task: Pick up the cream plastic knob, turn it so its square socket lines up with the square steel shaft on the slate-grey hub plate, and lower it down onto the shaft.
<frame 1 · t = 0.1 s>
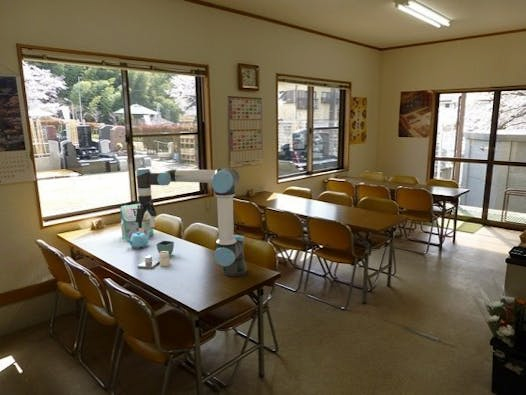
hand: (147, 229, 229), 28 cm above the table, fingers open, 13 cm apart
teapot: (139, 246, 285), on the table
lunch bag: (137, 237, 309), on the table
flower pot: (166, 255, 267), on the table
hub: (148, 265, 248), on the table
knob: (164, 264, 250), on the table, touching hub
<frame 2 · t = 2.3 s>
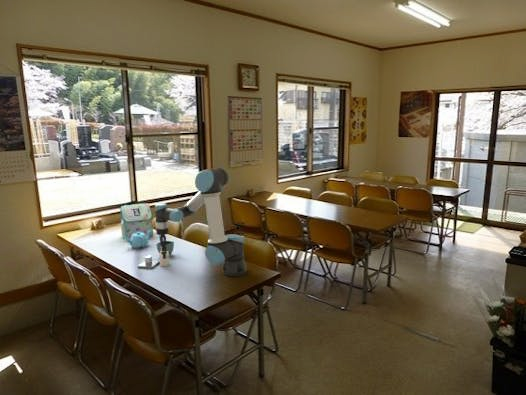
hand: (164, 259, 249), 3 cm above the table, fingers open, 13 cm apart
nothing on the table moved.
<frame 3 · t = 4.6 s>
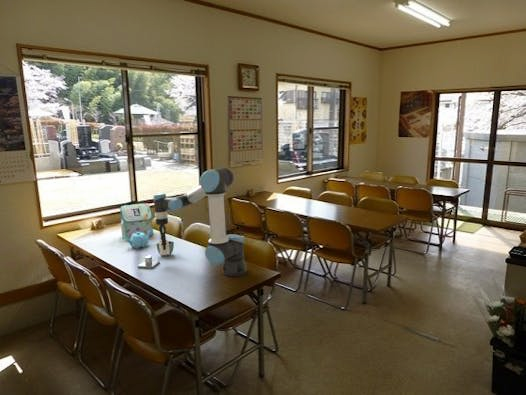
hand: (164, 252, 248), 8 cm above the table, fingers closed on knob, 6 cm apart
knob: (164, 253, 248), point 8 cm above the table, touching gripper
everything else where it was.
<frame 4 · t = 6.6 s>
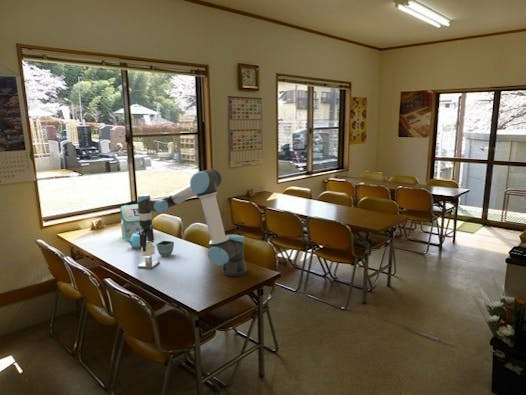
hand: (148, 254, 246), 8 cm above the table, fingers closed on knob, 6 cm apart
knob: (148, 254, 246), point 8 cm above the table, touching gripper
everything else where it was.
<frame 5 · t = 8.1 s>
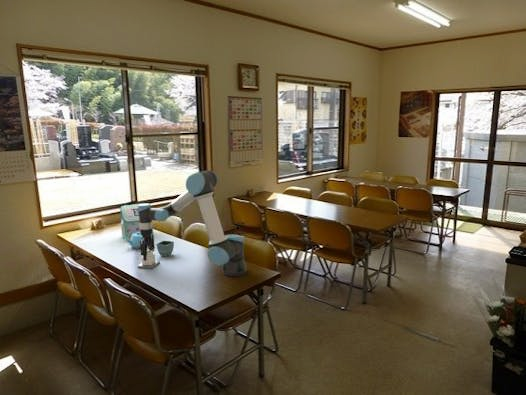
hand: (148, 262, 248), 2 cm above the table, fingers closed on knob, 6 cm apart
knob: (148, 263, 248), point 2 cm above the table, touching gripper
everything else where it was.
when the fingers open (2 cm above the table, at t = 8.6 s): knob stays where it is, resting on hub.
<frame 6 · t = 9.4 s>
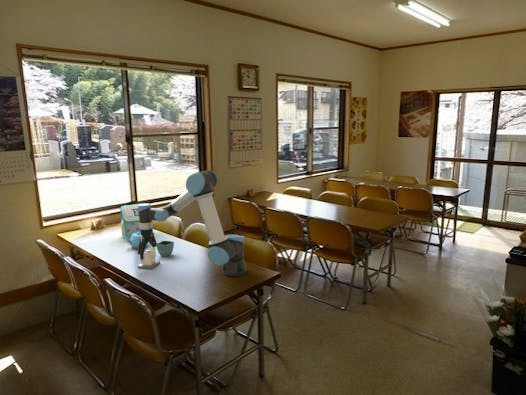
hand: (148, 260, 247), 4 cm above the table, fingers open, 13 cm apart
knob: (148, 263, 248), point 1 cm above the table, touching hub
everything else where it was.
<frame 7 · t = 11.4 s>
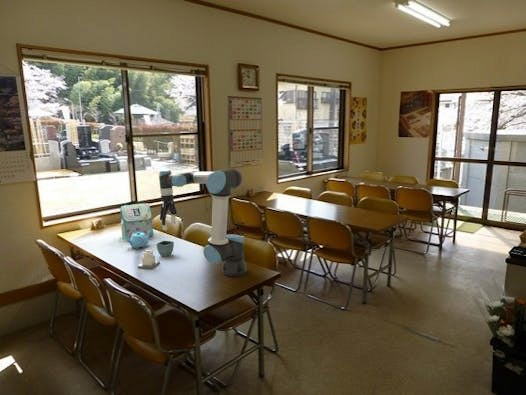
hand: (169, 227, 248), 24 cm above the table, fingers open, 13 cm apart
nothing on the table moved.
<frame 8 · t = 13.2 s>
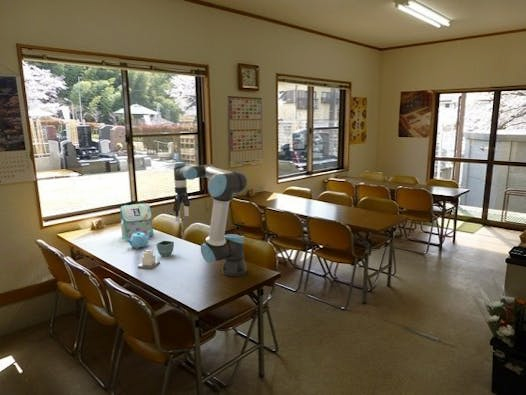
hand: (182, 218, 251), 29 cm above the table, fingers open, 13 cm apart
nothing on the table moved.
at the end: knob 0.1 cm off-centre on the hub, point 1.5 cm above the hub's base; knob tilted 0°; the gripper is holding nothing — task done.
